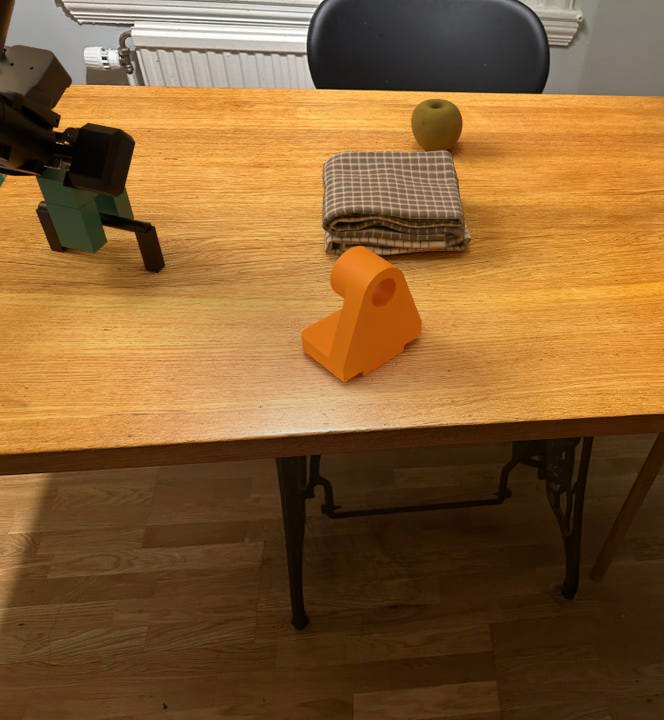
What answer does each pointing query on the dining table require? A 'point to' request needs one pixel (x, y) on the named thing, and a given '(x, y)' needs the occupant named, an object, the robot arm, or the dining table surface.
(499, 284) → the dining table surface
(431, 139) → the apple
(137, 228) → the dark pull handle
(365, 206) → the towel
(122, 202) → the dark green block
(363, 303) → the bracket
